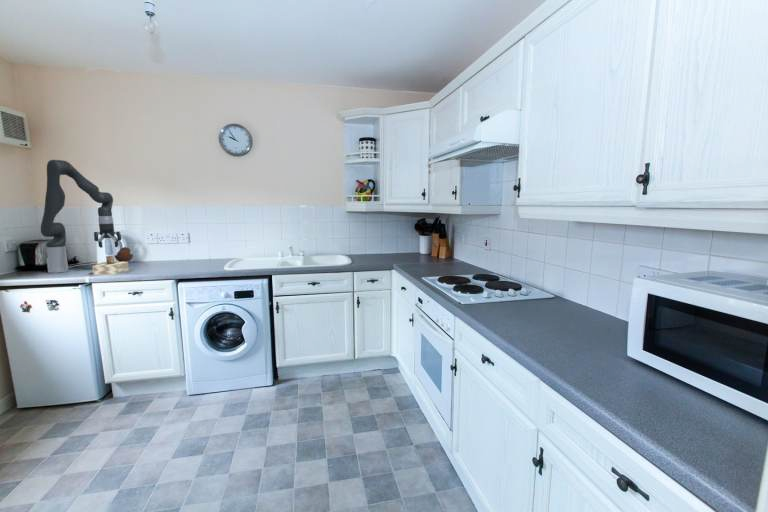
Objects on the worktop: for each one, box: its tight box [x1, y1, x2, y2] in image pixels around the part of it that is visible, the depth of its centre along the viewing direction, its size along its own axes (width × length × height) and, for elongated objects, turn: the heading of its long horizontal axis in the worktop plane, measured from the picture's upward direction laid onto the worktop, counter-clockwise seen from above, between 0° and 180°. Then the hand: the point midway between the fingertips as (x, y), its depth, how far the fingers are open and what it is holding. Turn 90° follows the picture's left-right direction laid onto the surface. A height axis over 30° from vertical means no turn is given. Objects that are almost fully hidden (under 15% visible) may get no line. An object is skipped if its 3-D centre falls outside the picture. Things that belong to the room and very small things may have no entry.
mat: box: [85, 268, 137, 276], centre depth 233 cm, size 24×15×1 cm, turn 107°
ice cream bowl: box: [113, 246, 134, 268], centre depth 250 cm, size 11×11×15 cm
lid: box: [91, 255, 130, 276], centre depth 233 cm, size 15×15×11 cm
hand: (108, 247), depth 231 cm, fingers open, 8 cm apart
